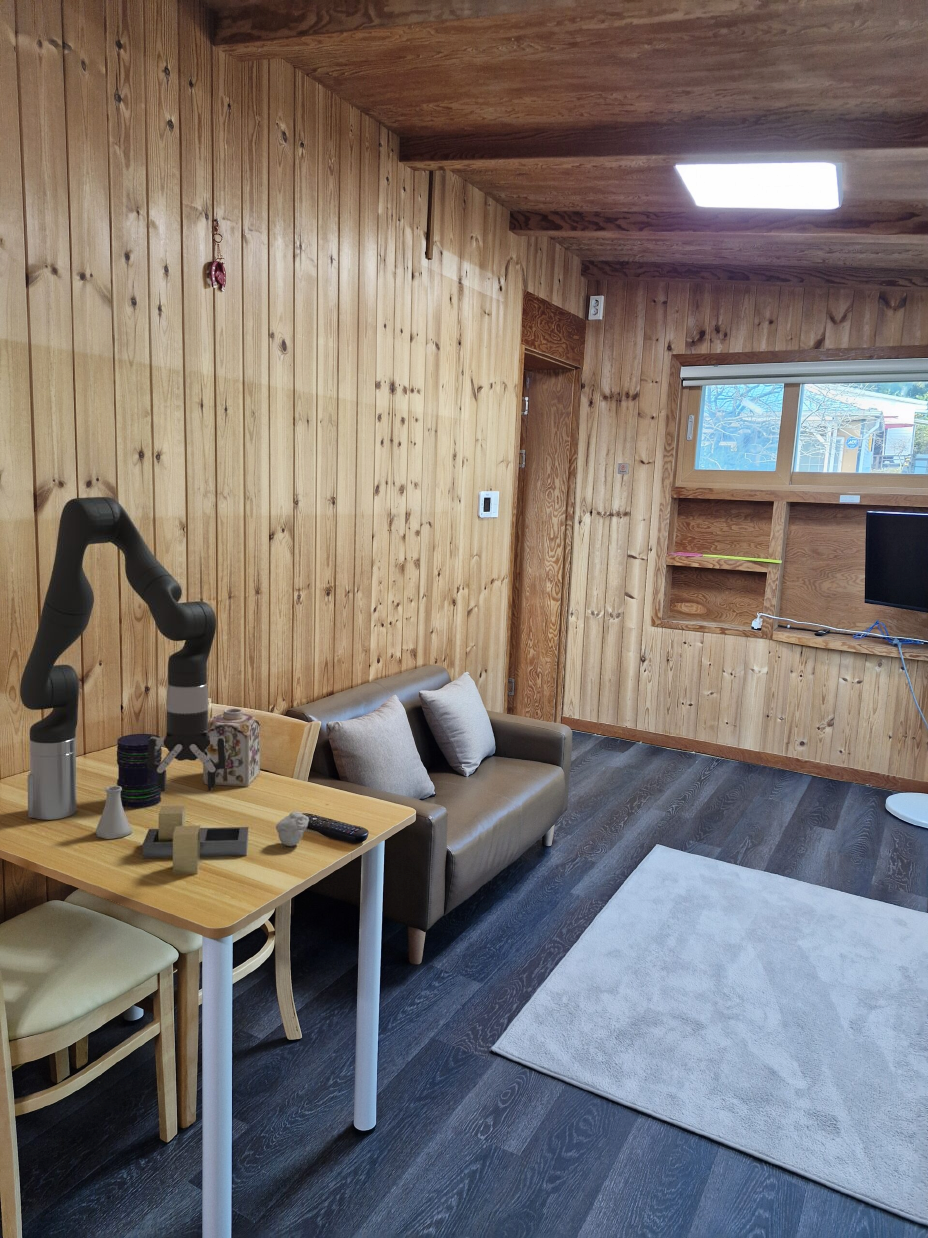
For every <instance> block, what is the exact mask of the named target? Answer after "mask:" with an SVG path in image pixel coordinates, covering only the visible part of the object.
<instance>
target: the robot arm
mask: <svg viewBox="0 0 928 1238" xmlns="http://www.w3.org/2000/svg"><path fill="white" fill-rule="evenodd" d="M57 532H58V533H57V538H56V539H57V540H56V549H55V556H54V561H53V565H52V571H51V576H50V579H49V583H48V587H47V590H46V593H45V597H44V601H43V606H42V609H41V615H40V618H39V619H40V620H39V623H38V629H37V632H36V637H35V640H34V642H33V645H32V648H31V651H30V654H29V657H28V658H27V661H26V664H25V667H24V670H23V672H22V676H21V680H20V686H19V697H20V700H21V703H22V704H23V707H25V708H26V709H29V710H31V711H39V710H42V711H43V710H47V709H49V710H50V709H52V710H51V712H50V713H49V714H48V715H47V716H45V717H44V718H41V720H38V721H37V722H35V723H34V724H32V725H31V726H30V728H29V765H30V766H29V770H30V771H29V773H28V774H27V777H26V778H27V779H26V781H27V818H30V819H32V818H34V819H37V820H46V821H47V820H50V821H51V820H61V819H64V818H67V817H70V816H73V815H75V813H76V812H77V750H76V749H77V747H76V746H77V739H76V738H77V737H76V736H77V734H76V733H77V732H76V731H77V728H78V727H77V726H78V722H79V721H78V716H79V697H80V696H79V695H80V692H79V691H80V686H79V685H80V684H79V678H78V675H77V672H76V669H74V667H73V666H72V665H69V664H57V665H56V664H55V663H56V662H57V660H58V659H59V658H60V656H61V655H63V653H64V652H66V650H68V649H69V648H70V646H72V645H73V644H74V643H75V642H76V641H77V640H78V639H79V638H80V637H81V635H82V634H83V633H84V632H85V631H86V629H87V628H88V625H89V622H90V618H91V615H92V611H93V608H94V603H95V594H94V591H93V588H92V586H91V584H90V582H89V580H88V578H87V575H86V573H85V572H84V571H85V570H84V567H83V563H84V562H83V561H84V558H85V557H84V556H85V552H86V550H87V547H88V546H89V545H97V544H108V543H111V544H112V545H115V547H117V548H118V549H119V550H120V551H121V553H122V554H123V556H124V571H125V576H126V579H127V581H128V583H129V585H130V587H131V588H132V589H133V591H134V592H135V593H136V594H137V595H138V596H139V597H140V599H141V600H142V601H143V602H144V603H145V604H146V605H147V607H148V609H149V612H150V614H151V616H152V618H153V621H154V623H155V625H156V627H157V629H158V631H159V632H160V634H161V635H162V636H163V637H165V638H166V639H168V640H170V641H172V642H173V641H174V642H183V641H184V644H183V646H182V648H180V650H178V651H176V652H173V654H171V655H170V656H169V657H168V661H167V689H166V697H165V698H166V701H165V702H166V704H165V705H166V714H165V716H166V723H165V725H166V729H165V731H166V733H165V737H161V738H157V737H156V736H152V737H151V738H150V740H149V742H148V758H147V768H148V769H149V770H155V771H156V772H157V787H158V789H161V793H163V792H166V791H167V769H166V768H168V766H169V765H170V764H171V763H172V761H174V759H175V760H177V761H178V762H179V761H180V762H181V761H182V762H183V761H186V760H187V761H191V762H192V761H193V762H195V761H196V760H199V761H200V762H201V763H202V764H204V765H205V766H206V767H207V769H208V784H207V792H212V790H213V789H214V788H215V787H216V786H217V785H216V771H217V770H219V769H224V768H225V765H226V750H225V737H224V736H222V735H221V736H219V737H214V738H210V737H209V735H208V722H209V703H210V702H209V691H208V683H207V681H208V678H207V677H208V676H207V675H208V659H209V656H210V653H211V650H212V645H213V643H214V642H213V641H214V639H215V636H216V635H215V634H216V631H217V617H216V613H215V611H214V608H213V607H212V606H211V605H210V604H209V603H207V602H206V601H202V600H197V601H195V600H194V601H187V602H186V601H185V602H179V601H180V600H181V598H182V596H183V595H182V594H183V589H182V587H181V584H180V583H179V582H178V581H177V579H175V577H174V576H173V575H172V574H171V573H170V572H169V571H168V570H167V569H166V568H165V566H164V565H162V563H161V562H160V561H159V560H158V558H157V557H155V555H154V554H153V553H152V551H151V549H150V548H149V546H148V544H146V542H145V540H144V538H143V536H142V534H141V533H140V531H139V529H138V528H137V527H136V525H135V524H134V522H133V521H132V519H131V517H130V516H129V514H128V513H127V511H126V510H125V509H124V507H123V506H122V505H121V504H120V503H119V501H118V500H117V499H114V498H113V497H109V496H108V497H107V496H96V497H95V496H91V497H89V496H88V497H75V498H70V499H69V500H67V502H66V503H65V504H64V506H63V507H62V512H61V514H60V519H59V525H58V531H57ZM209 744H213V746H214V748H215V749H218V762H214V761H213V760H212V758H211V757H210V755H209V754H208V752H207V751H206V748H207V747H208V746H209ZM162 745H164V747H165V748H166V749H167V751H168V753H167V754H166V755H165V757H164V758H163V759H162V760H161V763H158V762H156V750H157V749H159V748H160V746H161V747H162Z"/></svg>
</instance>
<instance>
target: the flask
mask: <svg viewBox="0 0 928 1238" xmlns="http://www.w3.org/2000/svg"><path fill="white" fill-rule="evenodd" d="M104 789H105V790H104V791H105V792H106V799H105V804H104V805H105V806H104V807H103V810H102V814H101V816H100V819H99V821H98V823H97V826H96V828H95V831H94V833H95V835H96V837H98V838H102V839H104V840H105V839H106V840H112V839H113V840H114V839H118V838H123V837H126V836H128V835H131V834H133V830H132V828H131V827H132V826H131V825H130V823H129V820H128V818H127V816H126V812H125V810H124V807H122V803H121V797H120V792H121V791H122V788H121V786H117V785H111V786H108V787H105V788H104Z"/></svg>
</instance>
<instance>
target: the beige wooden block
mask: <svg viewBox="0 0 928 1238" xmlns="http://www.w3.org/2000/svg"><path fill="white" fill-rule="evenodd" d="M200 828H201V825H185V826H176V827H175V830H174V833H173V858H172V875H173V876H177V875H178V876H181V875H183V876H185V875H198V873H199V869H200V863H201V860H200V859H201V857H200Z"/></svg>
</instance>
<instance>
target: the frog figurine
mask: <svg viewBox="0 0 928 1238" xmlns="http://www.w3.org/2000/svg"><path fill="white" fill-rule="evenodd" d="M309 820H310V819H309V816H307V815H305V814H303V813H302V812H300V811H293V812H291V813H289V814H288V815H286V816H285V817H284V818H282V819H281V820H280V821H278V823H277V824H276V825H275V829H276V832H277V833H278V839H279V841H280V843H282V844H283V845H284V846H287V847H294V846H296V845H297V844H299V843H300V841H301V840H302V838H303V836H304V832H306V831H307V828H308V825H309Z"/></svg>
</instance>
